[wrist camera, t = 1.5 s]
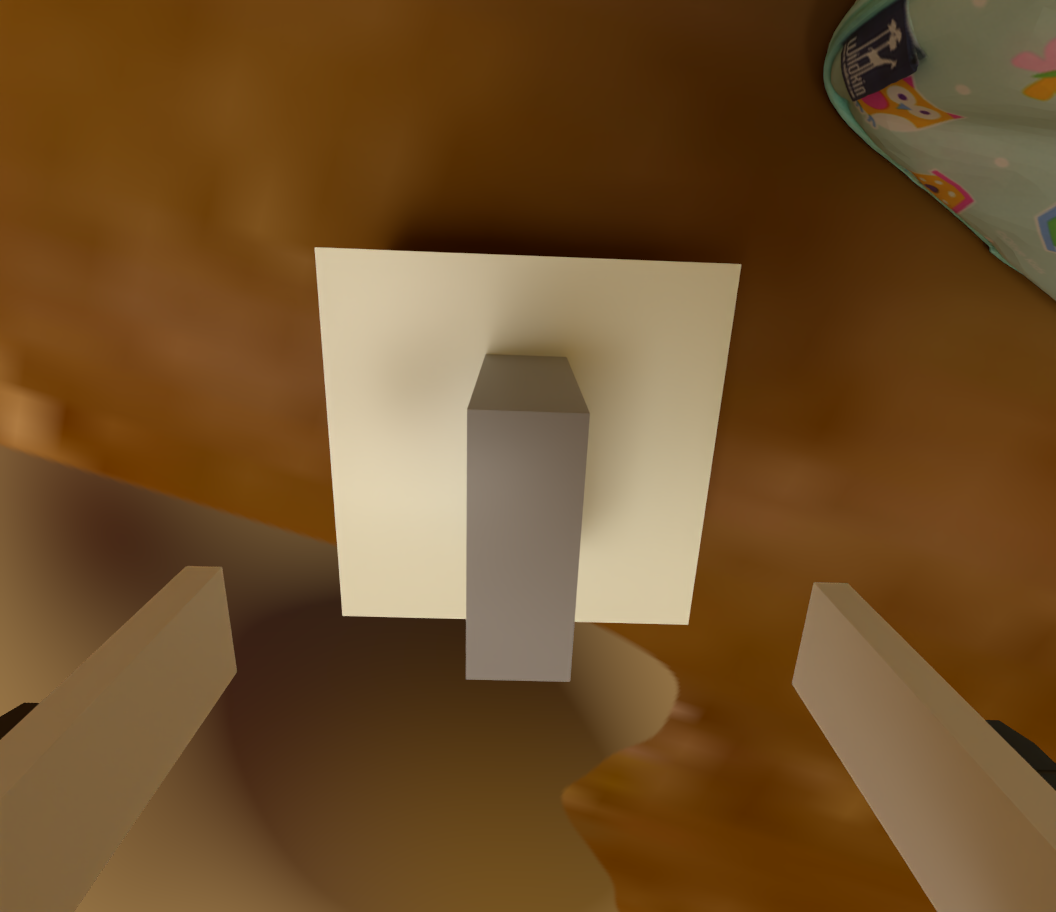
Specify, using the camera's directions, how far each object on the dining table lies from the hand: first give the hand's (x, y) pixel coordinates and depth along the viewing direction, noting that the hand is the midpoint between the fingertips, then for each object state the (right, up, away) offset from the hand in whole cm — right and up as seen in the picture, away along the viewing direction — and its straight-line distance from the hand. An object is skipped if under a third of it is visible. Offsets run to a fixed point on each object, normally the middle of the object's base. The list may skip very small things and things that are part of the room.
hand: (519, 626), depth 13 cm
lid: (0, +4, +12) cm, 13 cm away
